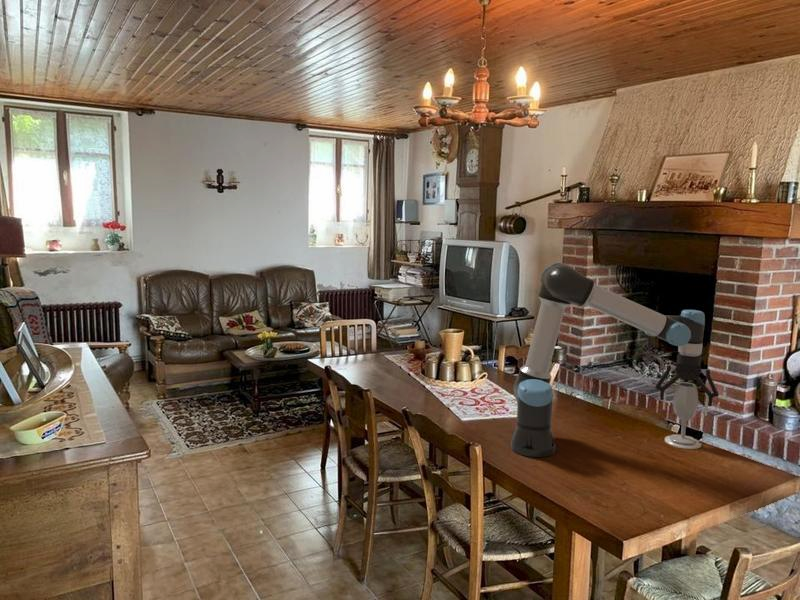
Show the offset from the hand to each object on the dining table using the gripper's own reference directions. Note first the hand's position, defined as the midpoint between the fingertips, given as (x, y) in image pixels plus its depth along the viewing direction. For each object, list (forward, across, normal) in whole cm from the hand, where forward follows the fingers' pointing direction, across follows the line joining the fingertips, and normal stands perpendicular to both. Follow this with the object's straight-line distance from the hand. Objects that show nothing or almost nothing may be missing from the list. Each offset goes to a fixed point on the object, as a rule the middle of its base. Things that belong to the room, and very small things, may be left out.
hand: (684, 411), depth 214 cm
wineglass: (+11, 0, 0) cm, 11 cm away
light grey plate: (+12, 0, 0) cm, 12 cm away
